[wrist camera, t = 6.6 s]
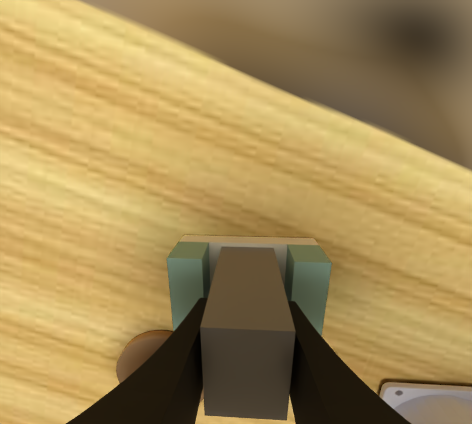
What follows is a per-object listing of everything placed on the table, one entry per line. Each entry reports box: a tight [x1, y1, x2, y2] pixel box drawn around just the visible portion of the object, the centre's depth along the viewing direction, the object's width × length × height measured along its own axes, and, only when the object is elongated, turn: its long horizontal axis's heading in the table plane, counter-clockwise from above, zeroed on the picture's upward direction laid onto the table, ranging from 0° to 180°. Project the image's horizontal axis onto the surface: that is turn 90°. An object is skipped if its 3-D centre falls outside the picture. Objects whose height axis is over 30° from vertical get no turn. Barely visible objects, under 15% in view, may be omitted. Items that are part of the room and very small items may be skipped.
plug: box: [200, 246, 296, 420], centre depth 10 cm, size 3×4×6 cm
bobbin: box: [116, 330, 204, 401], centre depth 14 cm, size 7×7×7 cm
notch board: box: [167, 235, 332, 335], centre depth 13 cm, size 8×6×3 cm
